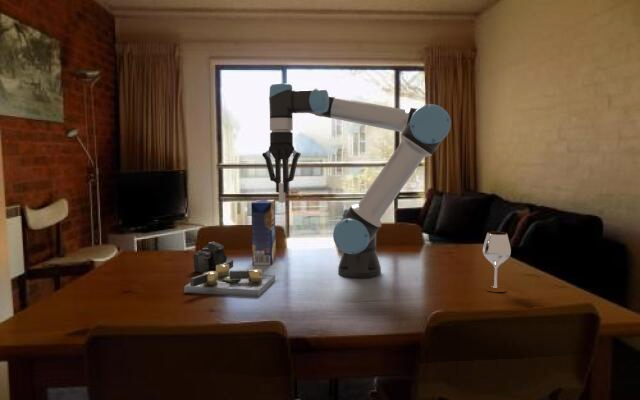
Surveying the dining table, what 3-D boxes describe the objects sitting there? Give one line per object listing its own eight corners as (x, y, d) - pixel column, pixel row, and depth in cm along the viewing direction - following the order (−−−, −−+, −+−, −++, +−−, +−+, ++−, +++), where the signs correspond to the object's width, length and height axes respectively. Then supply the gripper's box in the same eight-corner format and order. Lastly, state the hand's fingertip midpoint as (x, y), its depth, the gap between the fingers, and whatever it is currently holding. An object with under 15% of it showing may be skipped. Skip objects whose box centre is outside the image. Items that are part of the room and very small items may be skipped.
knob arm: (262, 278, 156) (262, 268, 156) (262, 282, 152) (261, 271, 152) (230, 279, 155) (230, 269, 155) (229, 283, 151) (229, 272, 151)
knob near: (210, 280, 154) (210, 270, 154) (220, 282, 152) (220, 271, 152) (186, 288, 146) (186, 277, 145) (197, 290, 143) (197, 279, 143)
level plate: (275, 280, 162) (275, 271, 162) (258, 296, 144) (258, 286, 144) (208, 277, 167) (207, 268, 166) (183, 292, 149) (183, 283, 148)
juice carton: (271, 265, 185) (270, 202, 182) (252, 264, 185) (251, 202, 183) (275, 258, 197) (275, 199, 194) (257, 258, 197) (256, 199, 195)
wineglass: (496, 295, 145) (498, 236, 143) (475, 288, 152) (477, 232, 150) (515, 291, 149) (517, 234, 147) (494, 285, 156) (496, 230, 154)
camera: (215, 274, 171) (214, 246, 170) (190, 272, 174) (189, 245, 173) (232, 265, 184) (231, 240, 183) (208, 264, 187) (208, 238, 186)
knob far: (226, 276, 159) (226, 266, 158) (214, 276, 160) (213, 266, 159) (237, 269, 169) (237, 259, 168) (225, 268, 169) (225, 259, 169)
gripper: (302, 131, 162) (303, 201, 165) (265, 132, 165) (266, 200, 167) (297, 130, 155) (298, 203, 157) (259, 131, 157) (260, 203, 160)
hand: (282, 202), depth 162 cm, fingers closed
